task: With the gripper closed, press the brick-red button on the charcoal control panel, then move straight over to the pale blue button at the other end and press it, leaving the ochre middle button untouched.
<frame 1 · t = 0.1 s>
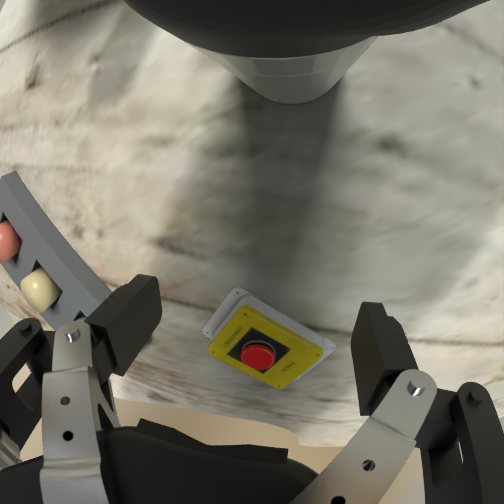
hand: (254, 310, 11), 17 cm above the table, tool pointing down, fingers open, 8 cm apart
ochre button: (40, 289, 32), point 4 cm above the table, slide at 0.0 cm
emergency button: (269, 336, 34), on the table
control panel: (56, 276, 36), on the table
blue button: (85, 338, 35), point 4 cm above the table, slide at 0.0 cm
red button: (4, 241, 30), point 4 cm above the table, slide at 0.0 cm
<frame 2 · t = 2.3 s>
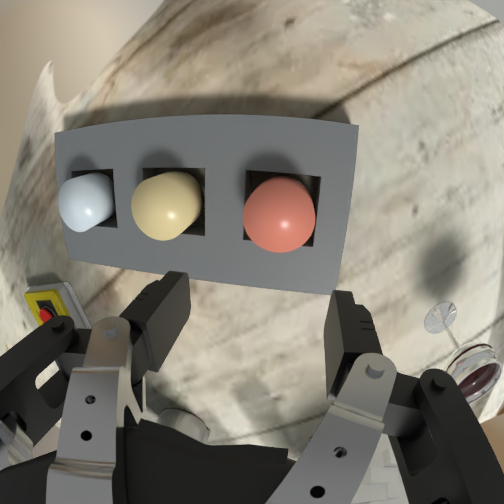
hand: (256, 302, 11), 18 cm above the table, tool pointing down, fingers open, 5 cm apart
wineglass: (440, 317, 29), on the table
ochre button: (168, 203, 25), point 4 cm above the table, slide at 0.0 cm
emergency button: (58, 305, 40), on the table
control panel: (184, 194, 28), on the table
basket: (359, 449, 43), on the table
blue button: (86, 200, 26), point 4 cm above the table, slide at 0.0 cm
red button: (280, 212, 23), point 4 cm above the table, slide at 0.0 cm
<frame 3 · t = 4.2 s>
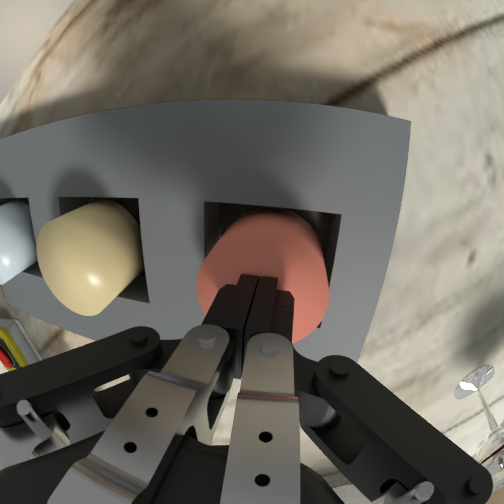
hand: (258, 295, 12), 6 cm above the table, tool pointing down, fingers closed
wineglass: (474, 382, 19), on the table
ochre button: (89, 255, 14), point 4 cm above the table, slide at 0.0 cm
emergency button: (16, 340, 30), on the table
control panel: (124, 232, 18), on the table
basket: (361, 497, 33), on the table
blue button: (6, 241, 16), point 4 cm above the table, slide at 0.0 cm
red button: (266, 275, 14), point 4 cm above the table, slide at 0.5 cm, touching gripper
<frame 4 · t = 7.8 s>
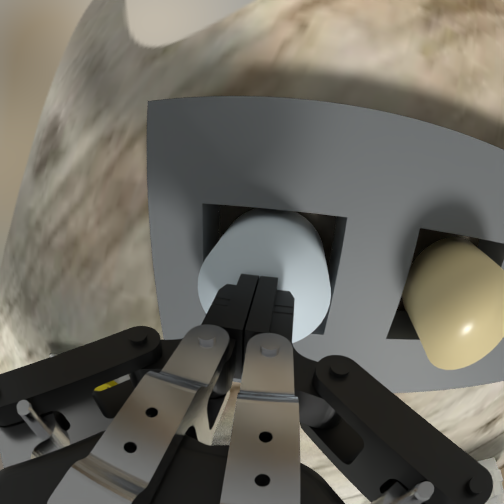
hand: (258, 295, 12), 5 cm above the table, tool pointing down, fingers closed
ochre button: (459, 302, 11), point 4 cm above the table, slide at 0.0 cm
control panel: (432, 268, 15), on the table
basket: (447, 484, 30), on the table
blue button: (268, 274, 13), point 3 cm above the table, slide at 1.1 cm, touching gripper
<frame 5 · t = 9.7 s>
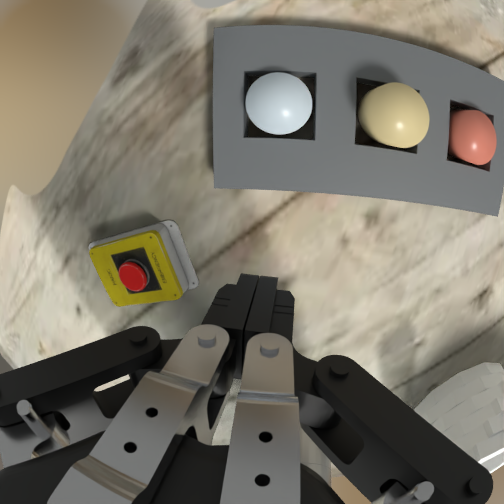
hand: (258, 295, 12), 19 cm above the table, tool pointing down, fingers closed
ochre button: (392, 115, 20), point 4 cm above the table, slide at 0.0 cm
emergency button: (141, 261, 36), on the table
control panel: (379, 116, 24), on the table
basket: (459, 398, 40), on the table
blue button: (279, 104, 23), point 2 cm above the table, slide at 1.8 cm
red button: (468, 135, 21), point 2 cm above the table, slide at 1.8 cm
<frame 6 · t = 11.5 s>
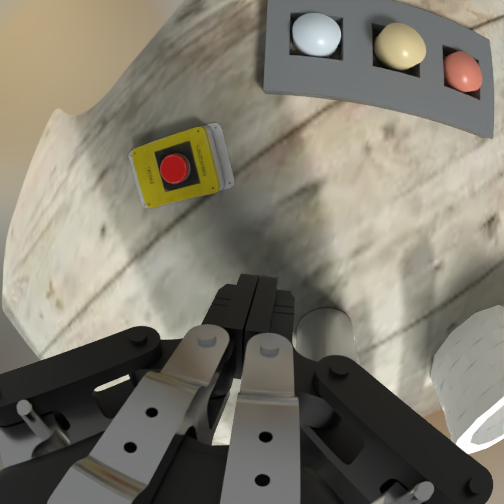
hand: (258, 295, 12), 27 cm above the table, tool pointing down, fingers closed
ochre button: (399, 47, 23), point 4 cm above the table, slide at 0.0 cm
emergency button: (179, 166, 38), on the table
control panel: (389, 55, 27), on the table
basket: (476, 349, 42), on the table
blue button: (316, 37, 26), point 2 cm above the table, slide at 1.8 cm
red button: (459, 72, 23), point 2 cm above the table, slide at 1.8 cm
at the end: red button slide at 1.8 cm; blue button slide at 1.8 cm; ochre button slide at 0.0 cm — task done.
